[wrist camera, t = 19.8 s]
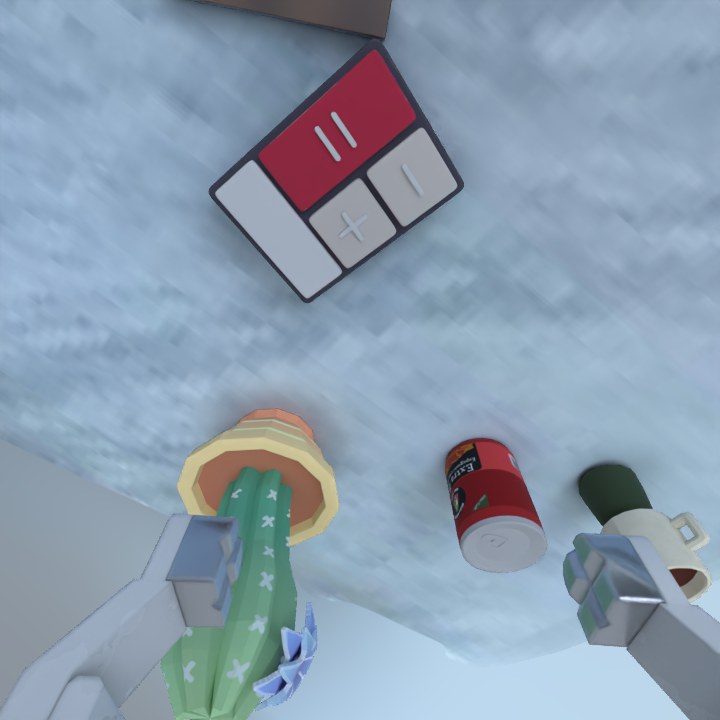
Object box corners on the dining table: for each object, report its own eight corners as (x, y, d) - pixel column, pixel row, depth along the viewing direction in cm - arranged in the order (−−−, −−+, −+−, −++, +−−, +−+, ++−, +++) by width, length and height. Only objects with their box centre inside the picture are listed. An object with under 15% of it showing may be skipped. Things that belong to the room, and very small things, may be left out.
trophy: (587, 516, 53) (644, 626, 42) (546, 493, 51) (595, 603, 40) (664, 463, 49) (751, 573, 38) (622, 436, 47) (701, 543, 36)
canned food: (459, 428, 46) (482, 513, 37) (527, 446, 48) (565, 532, 38) (432, 476, 50) (447, 564, 41) (495, 491, 51) (523, 580, 42)
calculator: (469, 188, 30) (305, 309, 34) (456, 180, 34) (309, 290, 38) (378, 31, 26) (201, 193, 30) (374, 41, 29) (218, 184, 34)
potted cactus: (291, 506, 54) (240, 779, 32) (178, 445, 48) (30, 721, 27) (373, 435, 47) (376, 716, 26) (253, 356, 42) (135, 625, 21)
